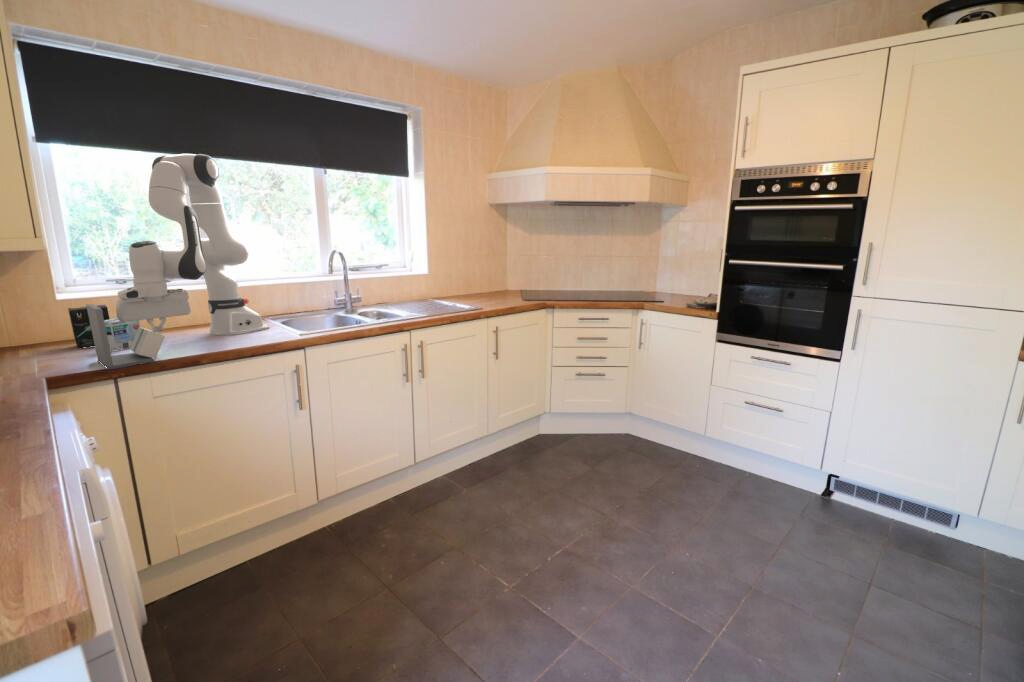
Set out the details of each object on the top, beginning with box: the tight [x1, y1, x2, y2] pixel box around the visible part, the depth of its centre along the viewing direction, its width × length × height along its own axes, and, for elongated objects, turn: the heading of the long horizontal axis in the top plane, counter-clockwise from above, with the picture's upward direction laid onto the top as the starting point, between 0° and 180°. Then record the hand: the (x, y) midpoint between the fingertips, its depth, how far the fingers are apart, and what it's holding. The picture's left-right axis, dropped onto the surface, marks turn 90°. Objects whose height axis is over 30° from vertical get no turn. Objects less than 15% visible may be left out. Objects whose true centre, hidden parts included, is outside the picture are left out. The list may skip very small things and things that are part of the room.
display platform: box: [85, 303, 155, 370], centre depth 156 cm, size 12×16×19 cm
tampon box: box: [67, 304, 111, 349], centre depth 181 cm, size 11×9×15 cm
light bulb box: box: [104, 317, 141, 351], centre depth 177 cm, size 11×7×11 cm, turn 168°
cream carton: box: [129, 326, 166, 360], centre depth 162 cm, size 8×12×5 cm
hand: (158, 331), depth 164 cm, fingers closed
